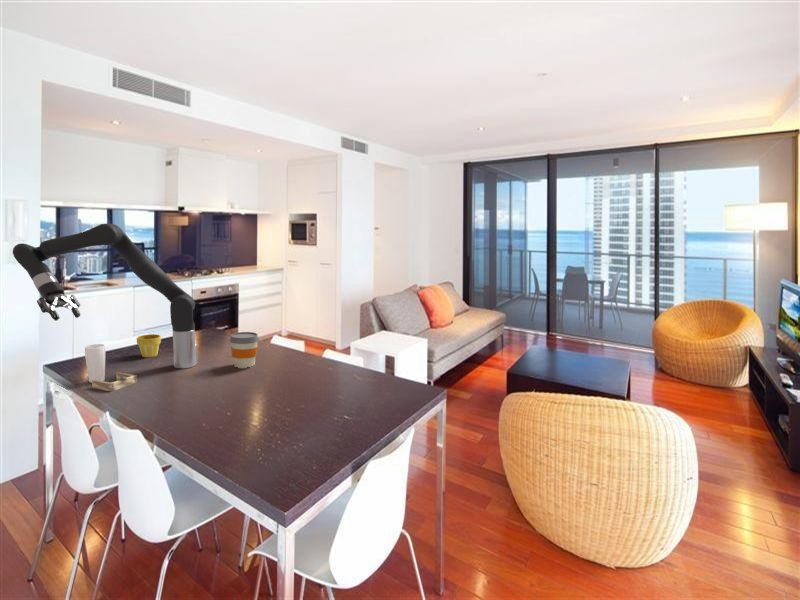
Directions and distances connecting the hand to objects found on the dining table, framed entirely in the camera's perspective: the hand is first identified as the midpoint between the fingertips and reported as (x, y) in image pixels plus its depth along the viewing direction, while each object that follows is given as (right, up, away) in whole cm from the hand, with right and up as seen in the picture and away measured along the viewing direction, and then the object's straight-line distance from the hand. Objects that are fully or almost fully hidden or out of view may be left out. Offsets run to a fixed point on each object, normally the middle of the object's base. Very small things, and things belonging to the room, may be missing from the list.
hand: (68, 318), depth 178 cm
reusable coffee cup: (+62, -24, +29) cm, 73 cm away
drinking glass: (+12, -26, 0) cm, 29 cm away
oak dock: (+21, -27, -3) cm, 35 cm away
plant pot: (+12, -21, +38) cm, 44 cm away
